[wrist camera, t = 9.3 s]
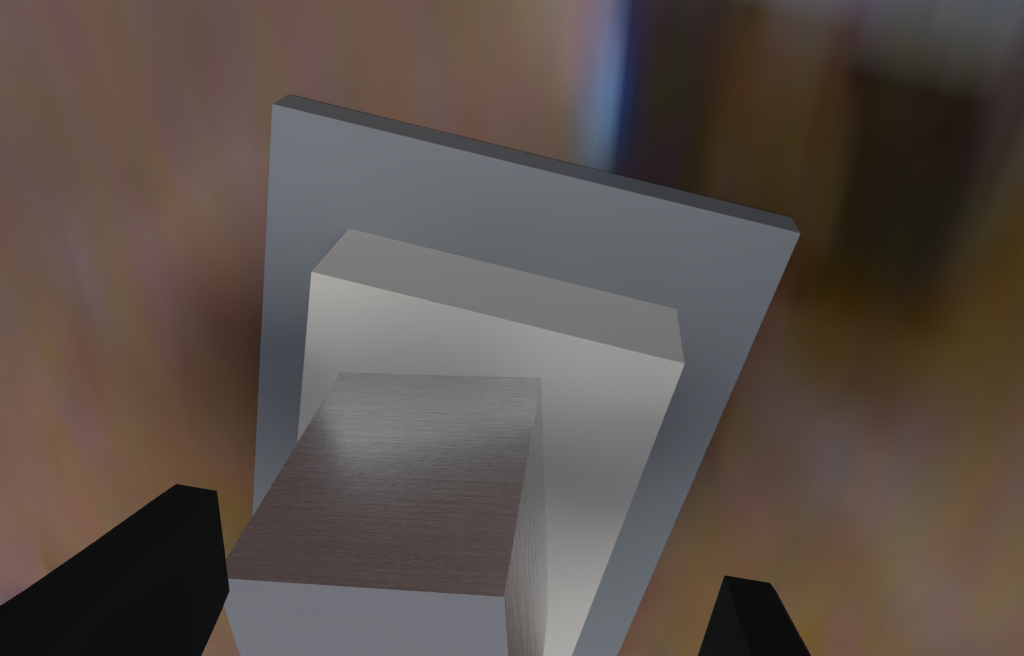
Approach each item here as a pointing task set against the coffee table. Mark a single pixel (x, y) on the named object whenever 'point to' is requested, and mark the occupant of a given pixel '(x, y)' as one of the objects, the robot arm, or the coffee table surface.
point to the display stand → (517, 321)
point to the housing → (401, 525)
